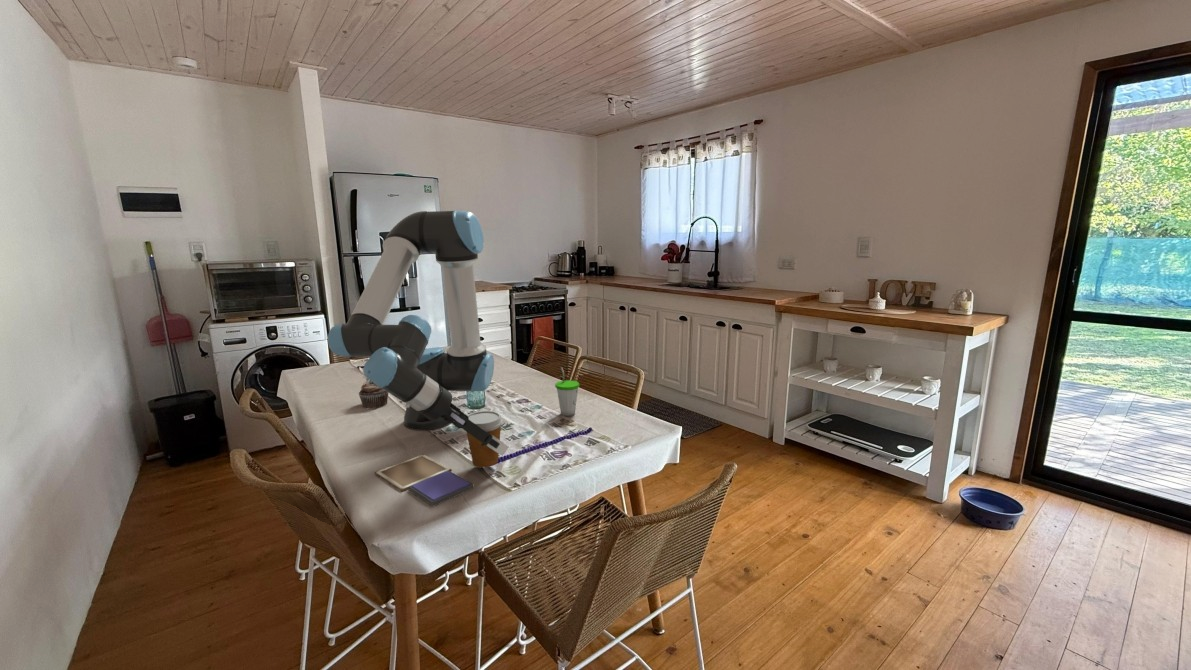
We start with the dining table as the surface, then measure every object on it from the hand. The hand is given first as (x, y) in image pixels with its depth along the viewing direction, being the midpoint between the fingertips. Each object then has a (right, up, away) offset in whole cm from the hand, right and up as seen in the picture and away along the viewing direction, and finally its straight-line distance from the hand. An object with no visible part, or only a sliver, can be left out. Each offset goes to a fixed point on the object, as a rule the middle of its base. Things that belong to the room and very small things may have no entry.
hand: (496, 444), depth 124 cm
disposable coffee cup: (-3, -4, -1) cm, 5 cm away
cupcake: (-52, +3, +47) cm, 70 cm away
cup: (+16, +2, +37) cm, 40 cm away
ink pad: (-11, -8, -11) cm, 17 cm away
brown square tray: (-20, -6, -3) cm, 21 cm away
